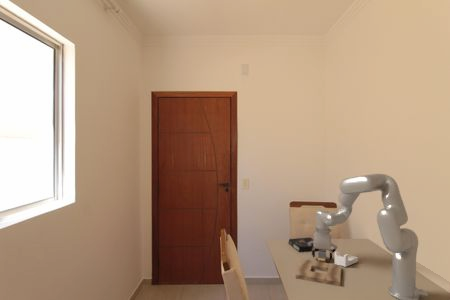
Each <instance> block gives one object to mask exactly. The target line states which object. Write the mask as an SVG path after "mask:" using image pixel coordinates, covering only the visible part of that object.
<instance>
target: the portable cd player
mask: <svg viewBox="0 0 450 300" xmlns="http://www.w3.org/2000/svg"><path fill="white" fill-rule="evenodd" d="M313 240H314V238H312V237H300V238H299V237H298V238H297V237H296V238H289V239H288V244H289V245H290V246H291V247H292V248H293V249H294V250H296V251H297V252H298V253H309V252H311V253H312V250H311V249H310V248H309V246H308V242H310V241H313ZM311 246H312V247H314V246H313V243H312V244H311ZM320 250H323V249H320ZM315 252H319V249H315Z"/></svg>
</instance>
